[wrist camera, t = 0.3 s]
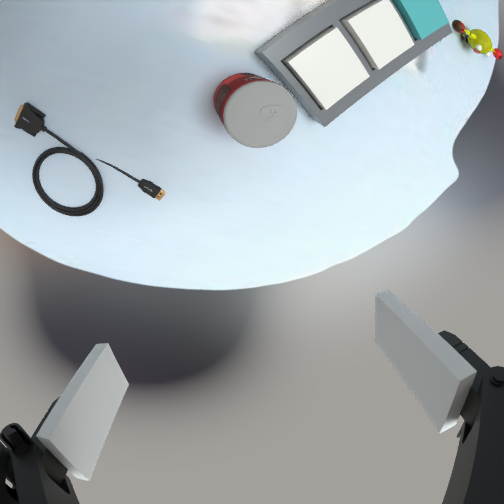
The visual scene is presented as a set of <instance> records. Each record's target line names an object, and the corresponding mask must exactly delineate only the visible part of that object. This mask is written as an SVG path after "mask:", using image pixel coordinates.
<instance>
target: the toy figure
mask: <svg viewBox="0 0 504 504" xmlns="http://www.w3.org/2000/svg"><path fill="white" fill-rule="evenodd" d="M452 27H453V29H454V30H455V31H457V32H459V33H462V32H464V31H465V33H466V34H467V35H465V34H462V40H465V39H464V37H466V42H467V43H470V45H471V47H472V48H473V50H474V52H476V53H482V54H485V55H486V56H490V52H489V51H493V55H494V57H495V58H496V59H502V56H503V55H502V52H501V51H500V50H499V49H497V48H495V49H493V48H492V42H491V40H490V38H489V36H488V35H487V34H486V33H485V32H483V31H482V30H479V29H473V30H471V31H469V30H467V29H466V30H465V26H464V24H463V23H462V22H461V21H459V20H454V21H453V22H452Z"/></svg>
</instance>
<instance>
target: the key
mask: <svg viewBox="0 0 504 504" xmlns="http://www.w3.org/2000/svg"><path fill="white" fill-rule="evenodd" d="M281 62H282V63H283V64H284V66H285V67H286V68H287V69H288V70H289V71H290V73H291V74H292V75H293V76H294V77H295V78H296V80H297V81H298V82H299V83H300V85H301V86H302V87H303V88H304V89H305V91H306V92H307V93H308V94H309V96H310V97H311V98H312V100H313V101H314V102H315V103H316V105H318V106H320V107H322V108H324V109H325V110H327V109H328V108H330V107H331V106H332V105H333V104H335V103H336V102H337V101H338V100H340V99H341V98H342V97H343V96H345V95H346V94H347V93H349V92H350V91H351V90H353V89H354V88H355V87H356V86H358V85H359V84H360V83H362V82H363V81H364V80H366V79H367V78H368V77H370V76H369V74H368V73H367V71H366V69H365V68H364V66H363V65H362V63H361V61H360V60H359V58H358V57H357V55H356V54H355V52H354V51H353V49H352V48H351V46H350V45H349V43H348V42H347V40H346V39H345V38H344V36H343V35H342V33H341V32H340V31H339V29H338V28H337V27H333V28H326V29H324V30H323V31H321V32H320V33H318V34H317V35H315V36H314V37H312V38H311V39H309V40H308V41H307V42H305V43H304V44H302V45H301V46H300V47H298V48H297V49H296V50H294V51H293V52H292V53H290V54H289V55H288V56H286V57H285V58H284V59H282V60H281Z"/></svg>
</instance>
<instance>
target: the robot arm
mask: <svg viewBox="0 0 504 504" xmlns="http://www.w3.org/2000/svg"><path fill="white" fill-rule="evenodd" d="M375 343H376V344H377V345H378V346H379V348H380V349H381V351H382V352H383V353H384V355H385V356H386V357H387V359H388V360H389V362H390V363H391V364H392V366H393V367H394V368H395V370H396V371H397V373H398V374H399V375H400V377H401V378H402V380H403V381H404V382H405V384H406V385H407V387H408V388H409V390H410V391H411V392H412V394H413V395H414V396H415V398H416V399H417V401H418V402H419V404H420V405H421V407H422V408H423V410H424V411H425V413H426V414H427V416H428V417H429V418H430V420H431V422H432V423H433V424H434V426H435V427H436V429H437V431H438V432H439V433H441V432H443V431H445V430H447V429H449V428H450V427H452V426H454V425H456V423H457V420H458V418H459V416H460V415H461V416H462V417H463V419H464V420H465V421H464V423H463V425H462V427H461V429H460V431H459V433H458V435H457V437H460V441H459V446H458V451H457V455H456V459H455V463H454V467H453V471H452V474H451V478H450V481H449V485H448V488H447V491H446V494H445V497H444V500H443V502H442V504H504V367H500V366H496V367H492V368H491V367H489V366H488V365H487V364H486V363H485V362H484V361H483V360H482V359H481V358H480V357H479V356H478V355H477V354H476V353H474V352H473V351H472V350H471V349H470V348H468V346H467V345H466V344H465V343H463V342H462V341H461V340H460V339H459V338H458V337H457V336H456V335H454V334H451V333H449V332H447V331H442V332H440V333H437V332H436V331H435V330H434V329H432V328H431V327H430V326H429V325H428V324H427V323H426V322H425V321H424V320H423V319H421V318H420V317H419V316H418V315H417V314H416V313H415V312H414V311H412V310H411V309H410V308H409V307H408V306H407V305H406V304H404V303H403V302H402V301H401V300H400V299H399V298H398V297H396V296H395V295H394V294H393V293H392V292H391V291H390V290H388V291H385V292H381V293H378V294H375ZM128 385H129V384H128V382H127V380H126V378H125V376H124V374H123V372H122V371H121V369H120V367H119V365H118V363H117V361H116V359H115V357H114V355H113V353H112V351H111V348H110V346H109V344H108V343H105V344H96V345H95V347H94V348H93V349H92V351H91V352H90V354H89V355H88V356H87V358H86V359H85V361H84V362H83V364H82V365H81V367H80V368H79V369H78V371H77V372H76V374H75V375H74V377H73V378H72V380H71V381H70V383H69V384H68V386H67V387H66V389H65V390H64V392H63V393H62V395H61V396H60V397H59V398H58V399H57V400H55V401H54V402H53V403H52V405H51V406H50V408H49V410H48V412H47V413H46V414H45V416H44V417H45V418H43V419H42V421H41V422H40V424H39V426H38V427H37V429H36V431H35V432H34V434H33V435H32V437H31V438H30V437H29V436H28V434H27V433H26V432H25V431H24V429H23V428H22V427H21V426H20V425H19V424H17V423H12V424H9V425H7V426H6V427H5V428H4V429H3V430H2V432H1V433H0V439H1V441H2V442H3V443H4V444H5V445H6V446H7V448H6V447H5V446H4V445H3V444H2V443H1V442H0V504H79V501H78V499H77V496H76V494H75V492H74V489H73V486H72V484H71V481H70V479H69V478H68V476H66V473H67V470H68V471H69V472H71V473H72V474H73V475H74V476H75V477H76V478H79V479H84V480H88V481H90V479H91V476H92V473H93V470H94V468H95V465H96V463H97V460H98V457H99V455H100V452H101V450H102V447H103V444H104V442H105V439H106V437H107V435H108V432H109V429H110V427H111V425H112V422H113V420H114V418H115V415H116V413H117V410H118V408H119V406H120V403H121V401H122V399H123V397H124V394H125V392H126V390H127V387H128ZM460 435H461V436H460ZM6 478H7V480H9V481H10V482H11V483H12V484H13V487H12V488H10V487H9V486H8V485H7V484H5V480H6Z"/></svg>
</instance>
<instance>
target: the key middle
mask: <svg viewBox="0 0 504 504" xmlns="http://www.w3.org/2000/svg"><path fill="white" fill-rule="evenodd" d="M339 21H340V22H341V24H342V25H343V27H344V28H345V29H346V31H347V32H348V34H349V35H350V36H351V38H352V39H353V41H354V42H355V44H356V45H357V47H358V48H359V50H360V51H361V53H362V55H363V56H364V58H365V59H366V61H367V63H368V64H369V66H370V67H371V68H375V69H381V68H382V67H383V66H385V65H386V64H388V63H389V62H390V61H392V60H393V59H395V58H396V57H397V56H399V55H400V54H402V53H403V52H405V51H406V50H408V49H409V48H410V47H412V46H413V45H414V43H413V41H412V39H411V37H410V35H409V33H408V31H407V29H406V27H405V26H404V24H403V22H402V20H401V19H400V17H399V15H398V13H397V12H396V10H395V9H394V7H393V5H392V4H391V2H390V1H389V0H372V1H370V2H368V3H366V4H365V5H363V6H361V7H359V8H358V9H356V10H354V11H353V12H351V13H349V14H348V15H346V16H344V17H343V18H341V19H340V20H339Z"/></svg>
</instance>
